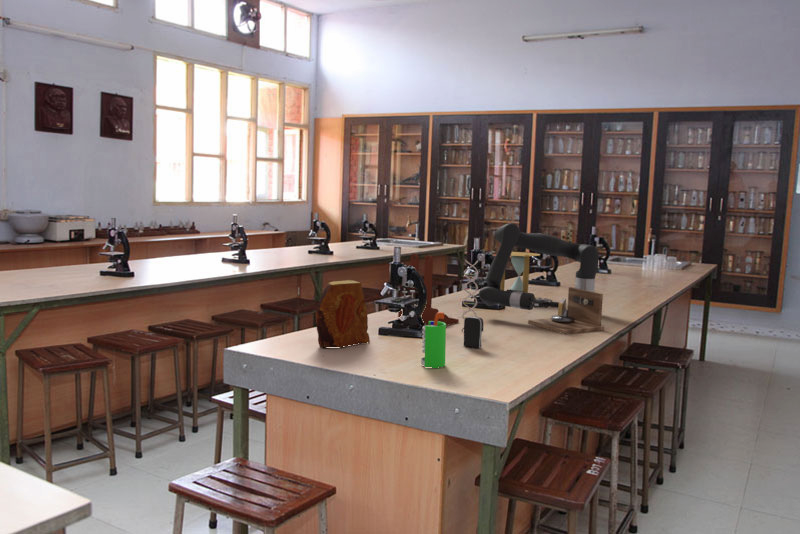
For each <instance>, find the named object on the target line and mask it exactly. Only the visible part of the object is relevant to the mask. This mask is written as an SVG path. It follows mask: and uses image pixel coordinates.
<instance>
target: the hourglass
mask: <svg viewBox="0 0 800 534" xmlns="http://www.w3.org/2000/svg"><path fill="white" fill-rule="evenodd" d="M540 255H541V253H535V252H534V253H533V252H529V251H524V252H523V251H522V252H521V251H512V253H511V255H510V260H511V262H510V263H511V264H512V266H513V268H514V270H515V273H516V274H517V278H516V279H515V280H514V283H512V285H511V287H510V288H509V290H516V291H524V292H526V293H529V282H530V281H529V279H530V257H537V256H540ZM521 275H522V277H521ZM505 281H506V271H505V272H504V275H503V278H502V281H501V287H500V290H504V291H505V283H506V282H505ZM535 298H537V297H535Z"/></svg>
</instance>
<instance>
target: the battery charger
mask: <svg viewBox="0 0 800 534" xmlns="http://www.w3.org/2000/svg"><path fill="white" fill-rule="evenodd" d="M465 317H466V316H465ZM463 320H464V319H463ZM463 327H464V329H463V347H467V346H468V348H472V347H474V348H473V349H481V348H482V333H483V332H484V320H483V318H482V317H479V316H477V317H475V316H472V315H471V316H467V317H466V318H465V320H464V321H463ZM480 347H481V348H480Z"/></svg>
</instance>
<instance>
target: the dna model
mask: <svg viewBox="0 0 800 534" xmlns="http://www.w3.org/2000/svg"><path fill="white" fill-rule="evenodd" d="M464 261H465V262H466V264H469V265H470V266H469V267H467V268H466V269H465V270H464V271H463V275H464V276H465V277H466V279H468V280H469V281H468V282H466V283H464V285H463V286H462V288H463V291H464V292H466V293H467V294H468V296H466V297H464V298H463V300H462V304H463V305H464V306H465V307H467V308H468V310H466V311H465V312H463V314H462V315H461V317H462V319H463V320H465V318H466V316H465V315H466V314H467V313H469V312H473V314H474V317H478V315H477V313H476V311H475V310H474V309H475V308H476V307H477V306H478V298H476V296H475V294H476V293H477V291H479V286H478V284H477V283H476V282H475V281H474V280H476V279H477V278H478V277H479V271H478V269H477V268H476V266H475V265H477V263H479V260H478V259H477V260H476V261H475V263H474V264H471V262H469V261H468V260H466V259H464ZM471 268H473V269H474V270H475V271H476V274H475V273H474V274H472V273H466V272H467V271H468V270H469V269H471ZM470 275H471V276H475V277H474V278H471V277H470ZM470 283H473V284H474V285H475V288H470V290H472V291H473V290H474V292H473V293H471V292H470V291H468V287H467V288H466V286H467V285H468V284H470ZM470 297H472V298H473V299H474V300H475V303H474V302H465V301H466V300H467V299H468V298H470ZM468 304H469V305H473V306H472V307H470V306H469V305H468ZM462 331H463V332H464V326H463V327H462V328H461V332H462Z"/></svg>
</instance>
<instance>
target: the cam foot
mask: <svg viewBox="0 0 800 534" xmlns="http://www.w3.org/2000/svg"><path fill="white" fill-rule="evenodd" d="M559 302H560V303H559V304H558V308H557V314H555V315H551V317H550V318H551V320H552V321H554V322H559V323H573V322H575V318H574V317H572V316H568V308H567V307H566V305H567V298H562V299H561V300H560V301H559Z"/></svg>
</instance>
